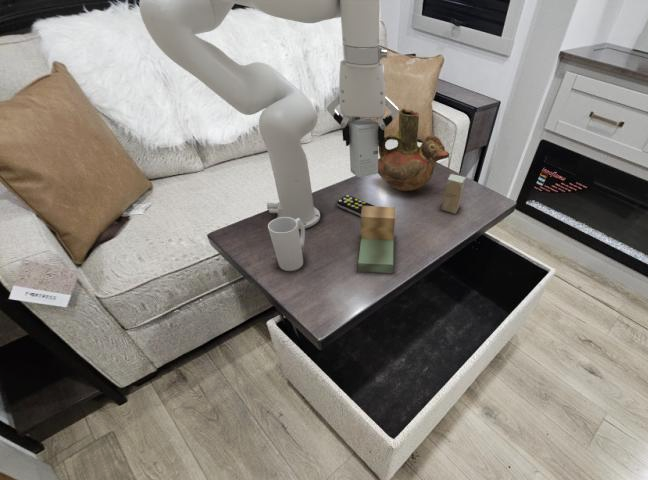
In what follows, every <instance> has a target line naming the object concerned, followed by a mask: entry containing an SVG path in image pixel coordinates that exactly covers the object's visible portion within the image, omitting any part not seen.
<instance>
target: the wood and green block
mask: <svg viewBox="0 0 648 480" xmlns="http://www.w3.org/2000/svg"><path fill="white" fill-rule="evenodd" d="M395 223H396V207H394V206H377V205H374V206H362V211H361V216H360V244H359V245H360V246H359V253H358V260H357V270H358V272H359V273H377V274H378V273H380V274H393V273H394V248H395V247H394V244H395V243H394V242H395V241H394V238H395Z"/></svg>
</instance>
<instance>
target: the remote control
mask: <svg viewBox="0 0 648 480" xmlns="http://www.w3.org/2000/svg"><path fill="white" fill-rule="evenodd" d="M336 204H337V205H336V206H337V207H338V208H340V209H343V210H345V211H348V212H350V213H351V214H354V215H357V216H359V217H361V211H362V206H375V205H373V204H372V203H369V202H366V201H365V200H362V199H359V198H357V197H355V196H352V195H348V194H346V195H344V196H342V197H341V198H339V199H338V200H337V202H336Z"/></svg>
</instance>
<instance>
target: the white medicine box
mask: <svg viewBox="0 0 648 480" xmlns="http://www.w3.org/2000/svg"><path fill="white" fill-rule="evenodd" d="M348 125H349V145H348V147H349V166H350V172H351V174H353V175H354V176H355V177H356V178H358V179H359V178H365V177H369V176H374V175H377V174H378V159H379V147H378V128H379V123H378V121H377V120H376V121H375V120H374V119H373V118H362V119H361V118H360V119H354V120H348Z"/></svg>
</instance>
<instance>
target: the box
mask: <svg viewBox="0 0 648 480" xmlns="http://www.w3.org/2000/svg"><path fill="white" fill-rule="evenodd" d="M466 179H467V177H466V176H462V175H460V174H459V175H458V174H455V173H450V174H449V176H448V178H447V180H446V185H445V190H444V195H443V201H442V205H441V211H444V212H447V213H451V214H455V215H456V214H457V212H458V210H459V208H460V204H461V201H462V196H463V192H464V188H465V184H466Z"/></svg>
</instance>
